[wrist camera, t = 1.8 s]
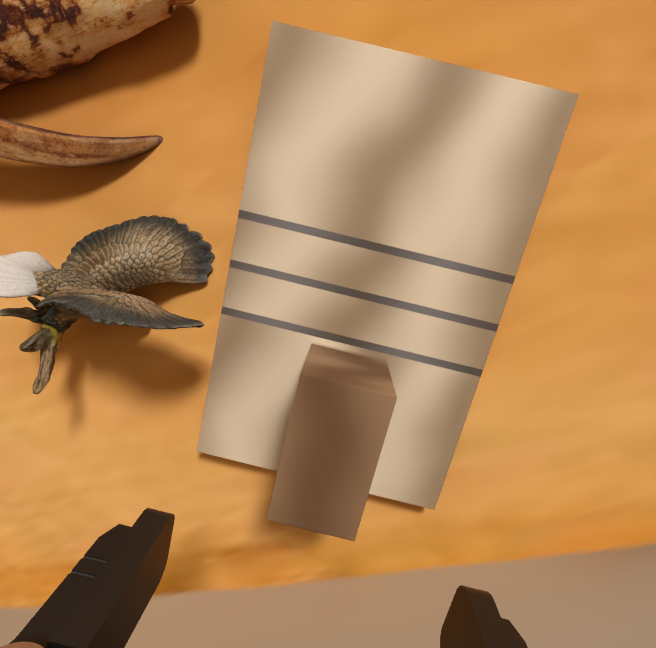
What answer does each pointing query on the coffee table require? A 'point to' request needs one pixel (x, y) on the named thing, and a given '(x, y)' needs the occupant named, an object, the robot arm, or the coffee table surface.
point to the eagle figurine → (104, 281)
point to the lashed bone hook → (62, 54)
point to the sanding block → (333, 441)
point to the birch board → (376, 241)
